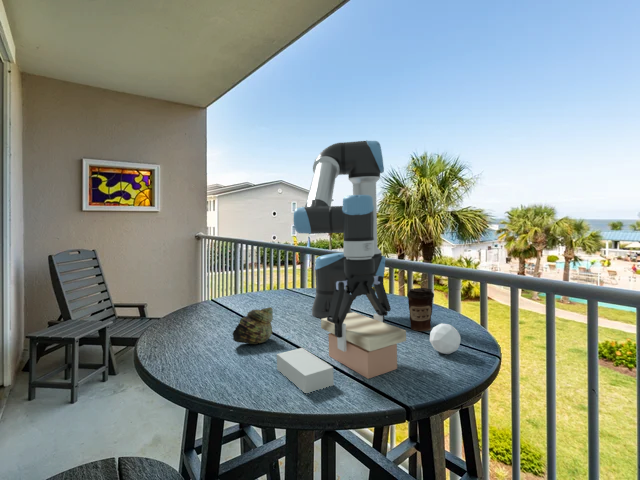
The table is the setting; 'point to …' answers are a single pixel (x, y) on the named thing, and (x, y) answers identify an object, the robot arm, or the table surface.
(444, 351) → the geometric ball
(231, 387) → the table surface
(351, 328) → the board
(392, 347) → the terracotta dish
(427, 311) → the coffee cup
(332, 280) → the robot arm
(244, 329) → the seashell
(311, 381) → the rubber block
